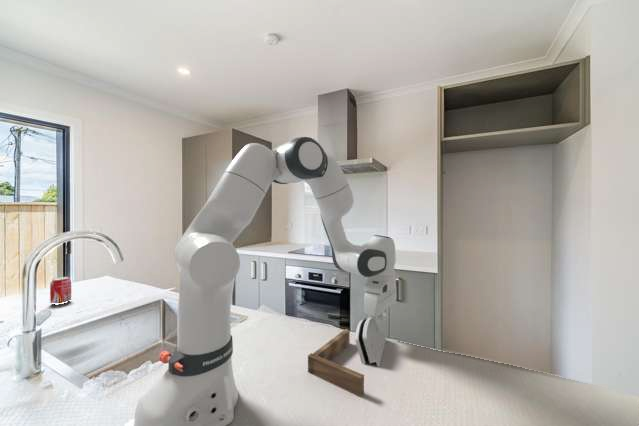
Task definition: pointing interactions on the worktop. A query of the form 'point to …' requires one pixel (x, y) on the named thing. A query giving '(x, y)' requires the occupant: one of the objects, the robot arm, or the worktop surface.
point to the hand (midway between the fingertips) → (382, 321)
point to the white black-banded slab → (369, 341)
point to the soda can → (60, 290)
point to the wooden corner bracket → (336, 365)
